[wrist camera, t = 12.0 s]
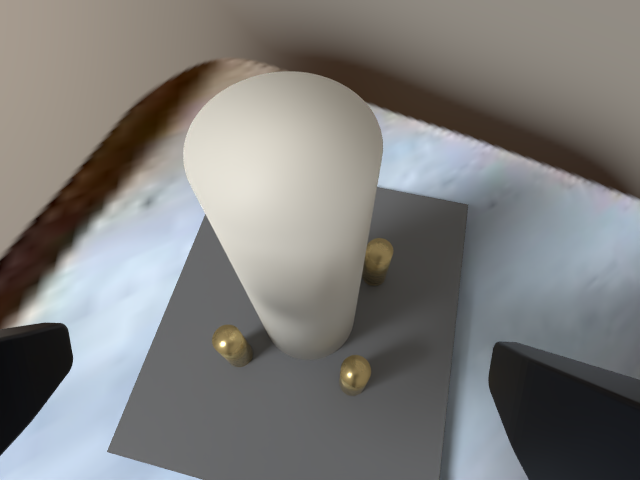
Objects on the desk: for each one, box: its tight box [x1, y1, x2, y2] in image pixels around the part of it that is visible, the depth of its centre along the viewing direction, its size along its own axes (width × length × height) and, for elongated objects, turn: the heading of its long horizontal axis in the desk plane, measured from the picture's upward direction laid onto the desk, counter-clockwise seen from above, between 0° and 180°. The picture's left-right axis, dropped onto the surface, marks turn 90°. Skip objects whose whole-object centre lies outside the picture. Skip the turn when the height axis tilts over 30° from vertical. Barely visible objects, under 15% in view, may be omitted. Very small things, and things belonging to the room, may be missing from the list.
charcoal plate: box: [107, 187, 468, 480], centre depth 20 cm, size 16×14×4 cm
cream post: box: [183, 72, 383, 360], centre depth 15 cm, size 4×4×13 cm
